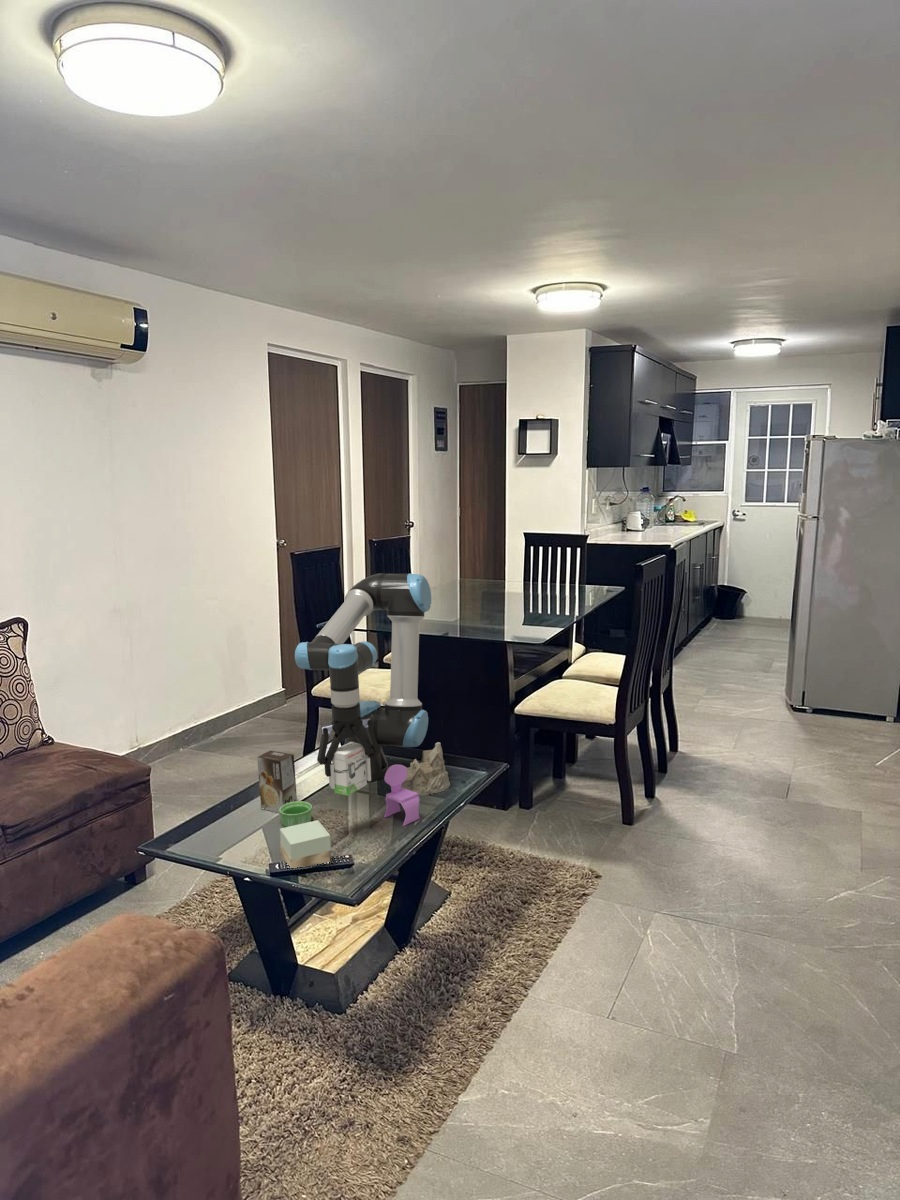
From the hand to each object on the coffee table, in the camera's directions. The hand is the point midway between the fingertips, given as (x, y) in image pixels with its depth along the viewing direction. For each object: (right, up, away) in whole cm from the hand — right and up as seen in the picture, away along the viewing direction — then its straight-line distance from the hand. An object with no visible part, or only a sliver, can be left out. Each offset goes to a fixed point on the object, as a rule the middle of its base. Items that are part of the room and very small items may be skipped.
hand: (350, 783), depth 219 cm
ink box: (0, -2, 0) cm, 2 cm away
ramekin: (-16, -13, +9) cm, 22 cm away
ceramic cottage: (+19, -8, +32) cm, 39 cm away
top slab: (-10, -13, -15) cm, 22 cm away
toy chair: (+13, -12, +9) cm, 20 cm away
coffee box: (-23, -12, +18) cm, 32 cm away
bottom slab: (-10, -17, -14) cm, 24 cm away
